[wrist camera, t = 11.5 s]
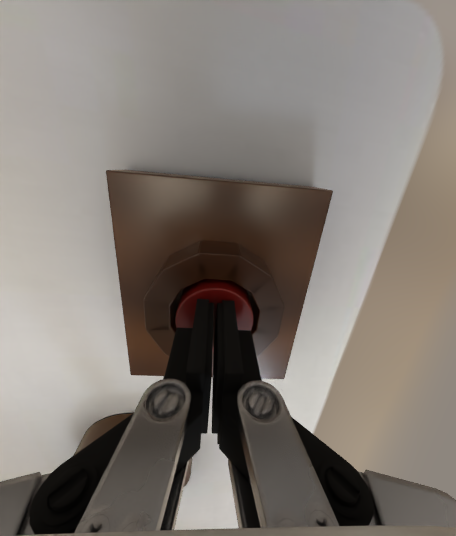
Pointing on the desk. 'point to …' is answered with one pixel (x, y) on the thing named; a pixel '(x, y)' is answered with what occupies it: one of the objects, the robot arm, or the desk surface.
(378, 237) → the desk surface
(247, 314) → the button
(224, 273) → the button base
